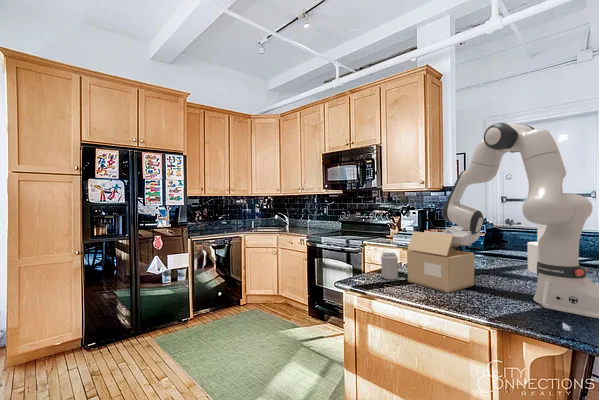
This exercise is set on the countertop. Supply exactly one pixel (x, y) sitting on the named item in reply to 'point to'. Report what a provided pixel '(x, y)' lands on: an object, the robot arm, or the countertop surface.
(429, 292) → the countertop surface
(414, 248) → the flap
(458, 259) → the carton
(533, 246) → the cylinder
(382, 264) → the can
